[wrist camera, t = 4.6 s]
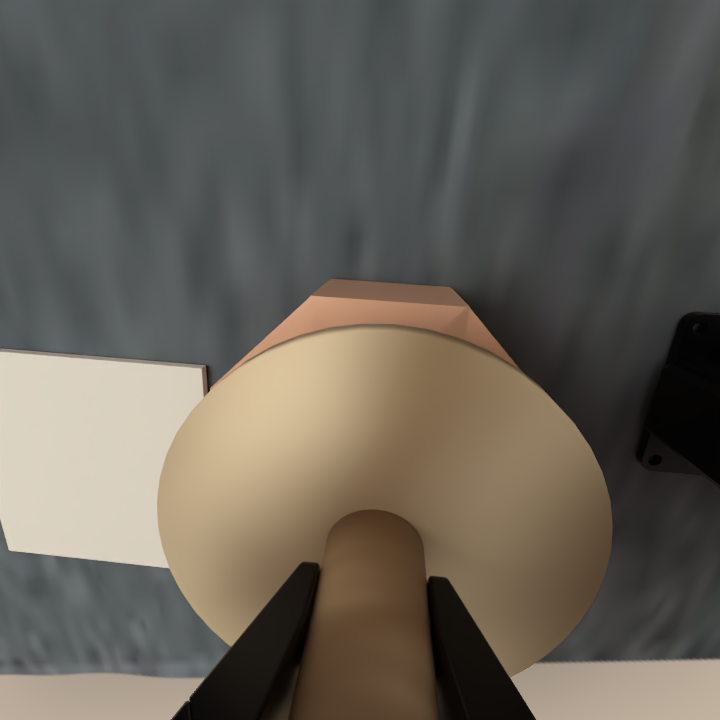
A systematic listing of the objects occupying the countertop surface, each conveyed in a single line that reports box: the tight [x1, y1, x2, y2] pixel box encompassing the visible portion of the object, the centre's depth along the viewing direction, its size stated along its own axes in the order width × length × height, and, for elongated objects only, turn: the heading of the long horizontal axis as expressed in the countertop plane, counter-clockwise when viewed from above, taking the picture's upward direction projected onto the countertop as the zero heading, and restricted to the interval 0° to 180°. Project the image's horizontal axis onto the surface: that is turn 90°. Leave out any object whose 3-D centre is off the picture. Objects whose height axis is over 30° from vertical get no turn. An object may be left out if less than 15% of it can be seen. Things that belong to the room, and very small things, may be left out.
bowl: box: [210, 278, 520, 391], centre depth 15 cm, size 11×11×4 cm
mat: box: [0, 348, 208, 568], centre depth 19 cm, size 11×11×1 cm
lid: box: [157, 324, 613, 720], centre depth 8 cm, size 11×11×6 cm
